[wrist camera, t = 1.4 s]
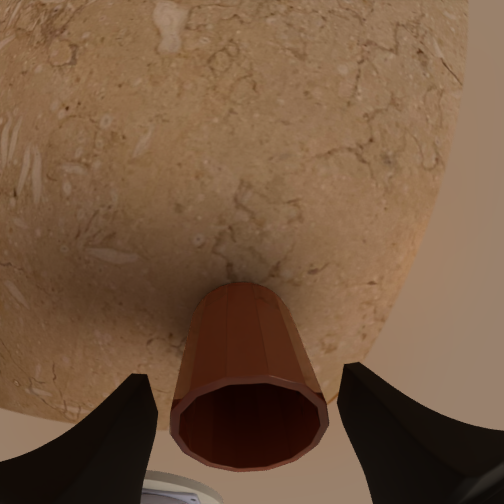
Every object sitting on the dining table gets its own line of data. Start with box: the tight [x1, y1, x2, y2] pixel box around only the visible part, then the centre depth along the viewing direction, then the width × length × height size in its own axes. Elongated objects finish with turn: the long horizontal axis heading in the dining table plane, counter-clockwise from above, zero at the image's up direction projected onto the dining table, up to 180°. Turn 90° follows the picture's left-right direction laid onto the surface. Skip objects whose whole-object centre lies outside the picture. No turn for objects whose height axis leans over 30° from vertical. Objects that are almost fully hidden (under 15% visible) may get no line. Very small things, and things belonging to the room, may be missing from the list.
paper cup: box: [170, 282, 329, 472], centre depth 11 cm, size 5×5×7 cm
